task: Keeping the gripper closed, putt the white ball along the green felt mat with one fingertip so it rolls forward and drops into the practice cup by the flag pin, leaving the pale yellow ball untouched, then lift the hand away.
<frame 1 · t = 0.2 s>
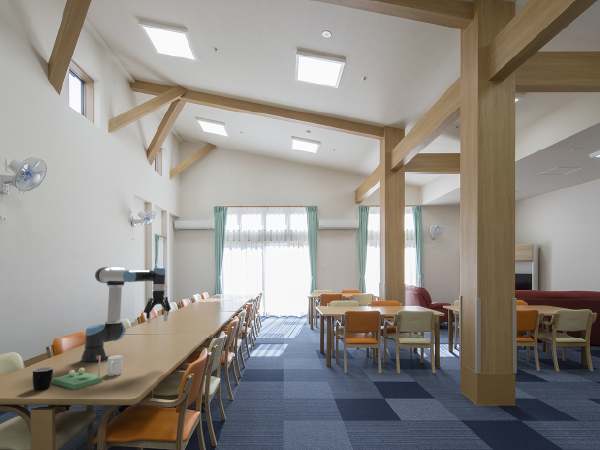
hand: (157, 322, 253), 28 cm above the table, fingers open, 13 cm apart
yellow ball: (81, 370, 220), point 4 cm above the table, touching green
cup: (113, 375, 226), on the table
green: (77, 382, 212), on the table
mug: (40, 390, 199), on the table
ball: (71, 373, 215), point 4 cm above the table, touching green
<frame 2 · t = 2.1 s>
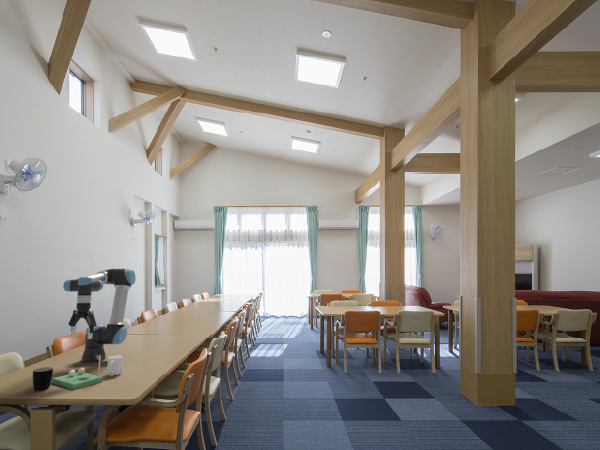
hand: (81, 338, 227), 22 cm above the table, fingers open, 13 cm apart
nothing on the table moved.
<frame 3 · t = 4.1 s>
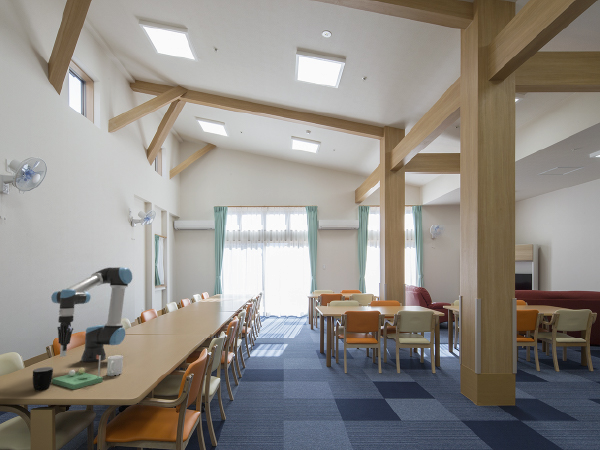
hand: (63, 356, 221), 13 cm above the table, fingers closed
nothing on the table moved.
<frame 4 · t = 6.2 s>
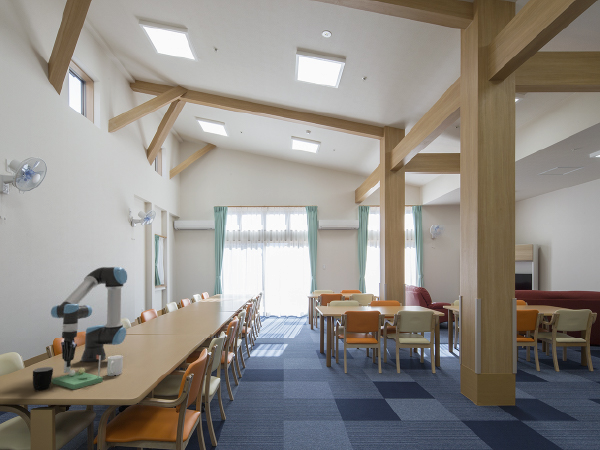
hand: (66, 372, 217), 4 cm above the table, fingers closed
nothing on the table moved.
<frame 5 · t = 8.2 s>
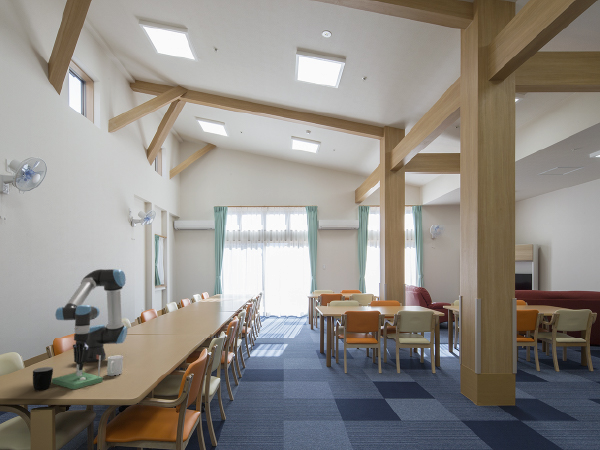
hand: (79, 375, 211), 4 cm above the table, fingers closed
ball: (82, 380, 210), point 2 cm above the table, tilted 35°
everything else where it was.
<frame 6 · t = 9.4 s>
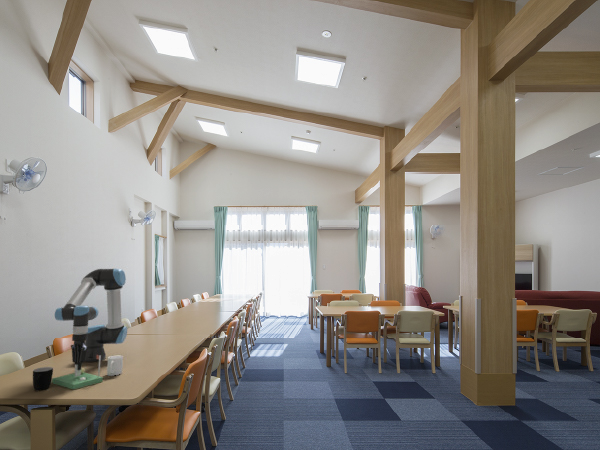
hand: (77, 375, 213), 3 cm above the table, fingers closed
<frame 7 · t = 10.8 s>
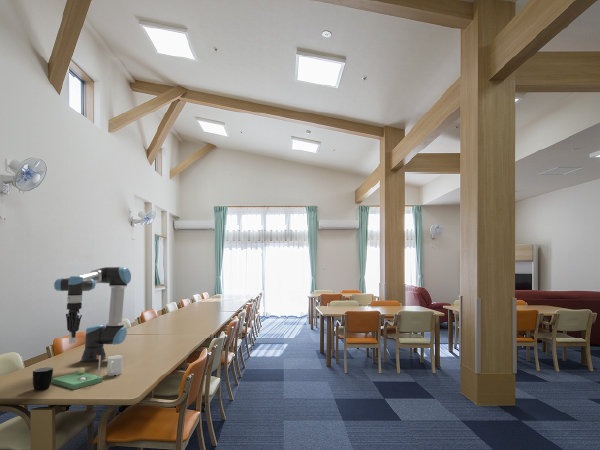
hand: (72, 343, 219), 20 cm above the table, fingers closed
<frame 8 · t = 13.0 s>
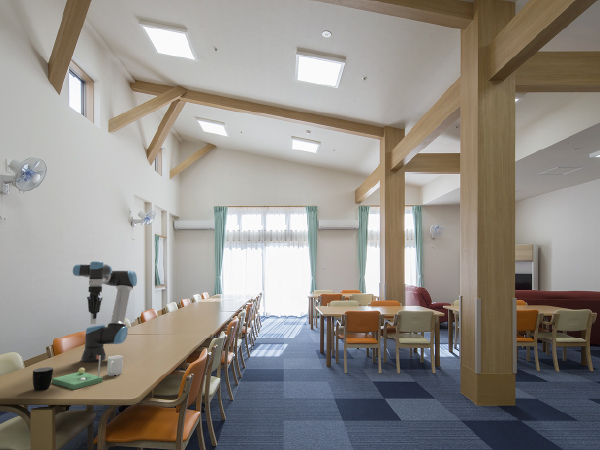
hand: (93, 323, 234), 29 cm above the table, fingers closed
ball: (82, 380, 209), point 2 cm above the table, tilted 47°
everything else where it was.
at the end: ball 0.6 cm from the target spot in the green, point 1.7 cm above the green's base; yellow ball moved 0.0 cm from its start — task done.
